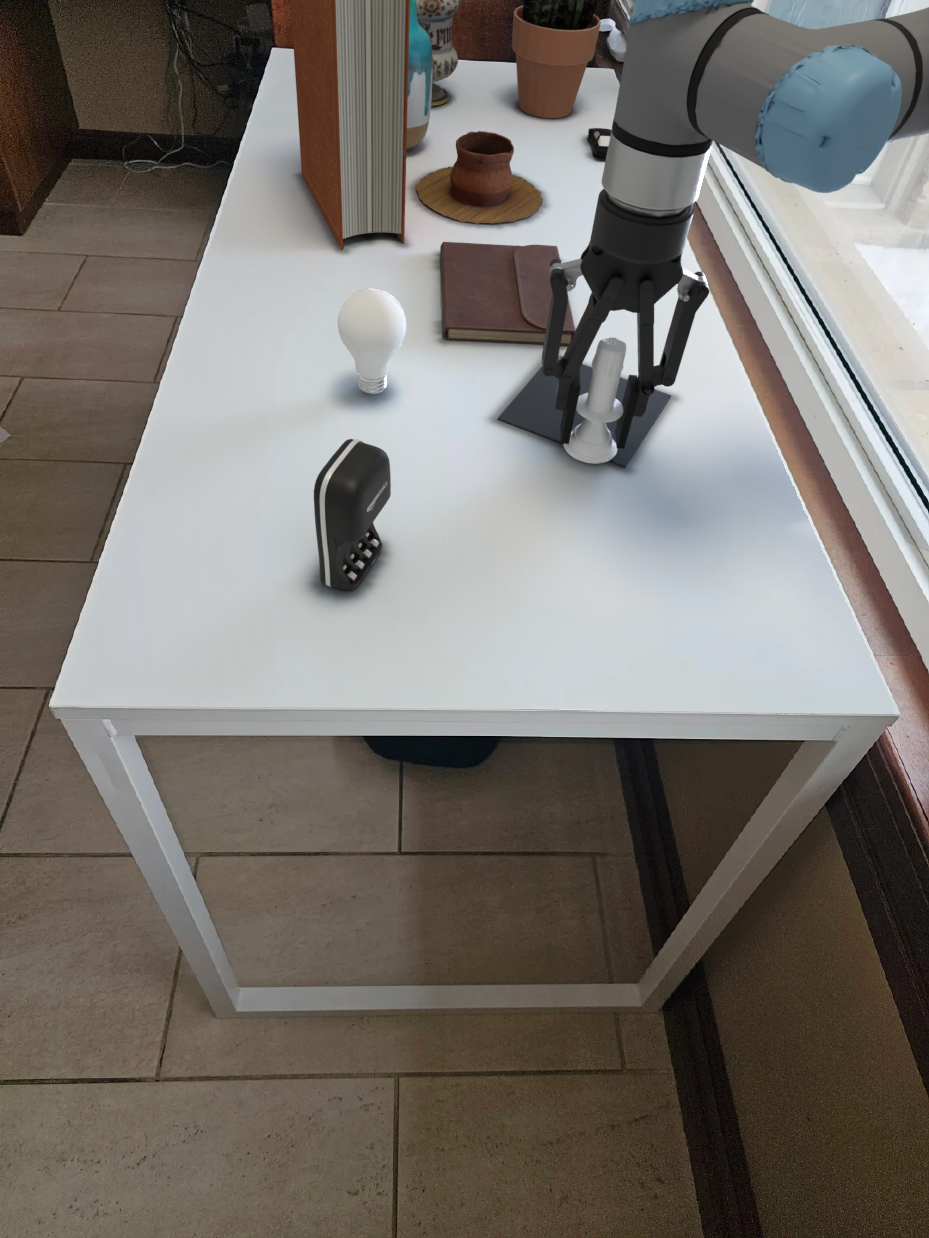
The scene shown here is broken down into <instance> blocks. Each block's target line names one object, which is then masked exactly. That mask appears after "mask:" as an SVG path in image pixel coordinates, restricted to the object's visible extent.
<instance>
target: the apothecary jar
mask: <svg viewBox="0 0 929 1238" xmlns="http://www.w3.org/2000/svg"><path fill="white" fill-rule="evenodd" d="M462 2H463V1H462V0H416V12H417V22H418V24H419V26H421V27H422V28H423V29H424V30H426V32H427V33H428V35H429V37H430V41H431V47H432V63H433V74H432V99H431V108H433V107H438V106H442V105H444V104H446V103H447V102H449V100H450V96H449V95H448V91H447V90H446V89H445V88H443V87H441V86H440V85H438V84H437V83H435V82H439V81H443V80H445V79H447V78H448V77H450V76H451V75H452V74H453V73H454V72H455V71H456V69H457V67H458V64H459V56H458V53H457V51H456V49H455V48H454V47H453V46H452V37H453V35H452V34H453V21H454V20H453V19H454V14H455V13H457V12H458V11H459V9H460V8H461V5H462Z"/></svg>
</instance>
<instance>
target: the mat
mask: <svg viewBox="0 0 929 1238" xmlns="http://www.w3.org/2000/svg"><path fill="white" fill-rule="evenodd" d="M558 357H561V358H563V356H561V355H558ZM579 372H580V385H581V388H580V393H579V396H580V395H582V394H585V393H588V392H589V387H590V383H591V378H592V372H593V371H592V366H589V365H586V364H584V363H582V365H581V367H580V369H579ZM627 381H628V379H626V378H623V377H621V376H620V380H619V384H618V388H617V392H616V396H615V398H616V399H617V400H618V401H619V402H620V403H621V404H622V400H623V396H624V393H625V389H626V385H627ZM557 382H558V379H557V378H556V377H555V376H545V375H544V374H543V371H542V366H541V367H540V368H539V369H538V370H537V372H535V374H534V375H533V376H532V377H531V379H530V380H529V381H528V382H527V383H526V384H525V386H524V387H522V389H521V390H520V391H519V393H518V394H517V395H516V396H515V397H514V398H513V400H511V402H510V403H509V404H508V405H507V406H506V408H504V410H503V411H502V412H501V414H499V416H498V417H497V420H498V421H500V422H504V423H505V424H509V425H512V426H514V427H516V428H518V429H519V428H520V429H521V430H522V429H523V430H524V431H527V432H530V433H533V434H535V435H537V436H540V437H543V438H546V439H549V440H551V441H554V442H556V443H559V444H561V445H563V444H562V443H561V431H560V425H561V420H562V415H563V410H556V406H555V393H556V388H557ZM671 397H672V394H669V393H666V392H663V391H660V390H658V389H655V390H654V393H653V394H652V395H650V396H649V399H648V403H647V406H646V410H645V413H644V414H643V416H642V417H636V416H633V419H632V422H631V426H630V430H629V433H628V437H627V441H626V445H625V448H624V449H619V448H617V453H616V455H615V456H614V457H613V458H612V459H611V460H609V461H608V462H609V463H612V464H615V465H617V466H620V467H622V468H627V466H628V464H629V463H630V462H631V460H632V458H633V457H634V455H635V454H636V452H637V450H638V449H639V447H640V446H641V444H642V443H643V441H644V440H645V438H646V437H647V435H648V433H649V432H650V430H651V429H652V427H653V425H654V424H655V423H656V421H657V419H658V418H659V417H660V415H661V413H662V411H664V409H665V407H666V405H667V404H668V402H669V401H670V399H671ZM585 419H586V418H584V417H583V416H581V415H580V414H579V413H578V412H577V411H576V412H575V417H574V421H573V426H572V431H574V429H575V427H576V426H577V425H579V424H581V423H583V421H584V420H585ZM617 420H618V419H617ZM617 420H615V421H612V422H606V425H607V428H608V429H609V431H610V432H611V434H612V439H613V440H614V441H615V443H616V438H615V428H616V424H617ZM572 431H571V432H572Z"/></svg>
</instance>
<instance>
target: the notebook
mask: <svg viewBox="0 0 929 1238" xmlns="http://www.w3.org/2000/svg"><path fill="white" fill-rule="evenodd" d="M439 249H440V252H439V253H440V276H441V278H440V279H441V309H442V310H441V311H442V312H441V313H442V314H441V315H442V335H443V338H444V340H446V341H461V342H462V341H463V342H484V343H485V342H486V343H505V344H523V345H524V344H525V345H526V344H527V345H528V344H529V345H544V340H545V334H546V328H547V321H548V315H549V309H550V303H551V297H552V288H551V283H550V266H549V264H550V262H551V261H552V260H553V259H561V257H560V252H559V247H558V246H557V245H549V244H527V245H514V244H513V245H512V244H511V245H510V244H493V243H477V242H475V243H474V242H456V241H455V242H454V241H442V243H441V244H440V247H439ZM575 330H576V326H575V321H574V317H573V312H572V307H571V304H570V299H569V297H568V304H567V311H566V316H565V322H564V327H563V333H562V339H561V344H560V346H567V347H568V345H569V343H570V341H571V339H572V337H573V335H574V332H575Z"/></svg>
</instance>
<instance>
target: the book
mask: <svg viewBox="0 0 929 1238" xmlns="http://www.w3.org/2000/svg"><path fill="white" fill-rule="evenodd" d="M290 12H291V28H292V44H293V60H294V74H295V76H294V78H295V91H296V92H295V93H296V106H297V120H298V122H297V123H298V136H299V137H298V138H299V152H300V153H299V154H300V168H301V177H302V179H303V181H304V183H305V184H306V186H307V188H308V190H309V192H310V193H311V196H312V197H313V199H314V201H315V203H316V205H317V206H318V209H319V211H320V212H321V215H322V216H323V218H324V220H325V222H326V223H327V226H328V227H329V229H330V231H331V233H332V235H333V236H334V238H335V240H336V242H337V244H338V245H339V248H340V250H341V251H343V250H344V240H345V239H348V238H350V237H353V236H358V235H364V234H372V233H373V234H375V233H388V234H395V235H396V236H397V237H398V239H399V240H400V242H401V244H402V245H405V231H406V228H405V227H406V226H405V224H406V223H405V222H406V185H407V184H406V183H407V149H406V146H407V104H408V62H409V19H410V0H290Z"/></svg>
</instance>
